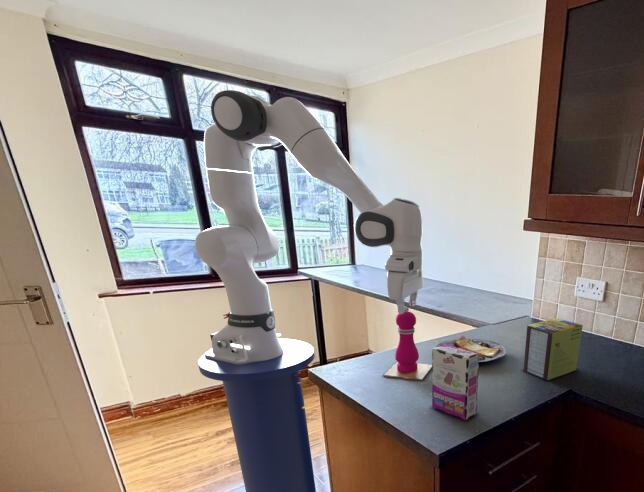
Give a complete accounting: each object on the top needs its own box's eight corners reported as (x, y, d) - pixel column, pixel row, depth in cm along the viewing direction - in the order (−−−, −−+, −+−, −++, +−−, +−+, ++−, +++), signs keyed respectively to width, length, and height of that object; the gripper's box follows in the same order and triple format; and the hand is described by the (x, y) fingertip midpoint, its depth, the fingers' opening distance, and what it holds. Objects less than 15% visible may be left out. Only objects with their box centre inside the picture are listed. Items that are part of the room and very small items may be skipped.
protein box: (577, 370, 134) (583, 324, 128) (547, 381, 124) (552, 332, 118) (552, 360, 141) (557, 317, 135) (522, 370, 131) (526, 324, 125)
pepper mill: (406, 363, 131) (404, 302, 124) (423, 368, 128) (423, 306, 120) (390, 370, 125) (387, 306, 118) (408, 375, 122) (407, 310, 115)
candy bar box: (477, 413, 103) (480, 353, 97) (465, 421, 99) (468, 358, 93) (443, 401, 109) (444, 343, 102) (431, 407, 105) (431, 347, 99)
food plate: (421, 353, 142) (421, 343, 141) (467, 339, 159) (467, 331, 157) (473, 373, 127) (473, 363, 126) (518, 356, 143) (519, 347, 142)
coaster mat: (383, 376, 122) (383, 374, 122) (397, 362, 133) (397, 361, 133) (422, 380, 120) (422, 379, 120) (433, 366, 131) (433, 364, 131)
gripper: (408, 256, 124) (408, 300, 129) (382, 264, 105) (384, 316, 110) (428, 257, 123) (427, 302, 128) (405, 266, 104) (406, 318, 110)
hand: (407, 309), depth 119 cm, fingers open, 8 cm apart
